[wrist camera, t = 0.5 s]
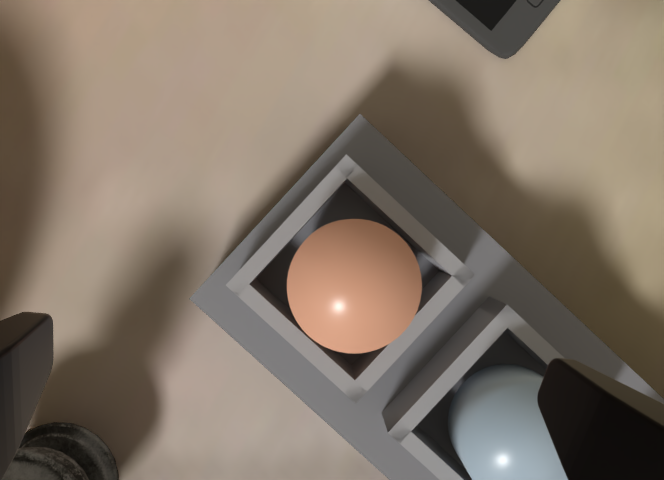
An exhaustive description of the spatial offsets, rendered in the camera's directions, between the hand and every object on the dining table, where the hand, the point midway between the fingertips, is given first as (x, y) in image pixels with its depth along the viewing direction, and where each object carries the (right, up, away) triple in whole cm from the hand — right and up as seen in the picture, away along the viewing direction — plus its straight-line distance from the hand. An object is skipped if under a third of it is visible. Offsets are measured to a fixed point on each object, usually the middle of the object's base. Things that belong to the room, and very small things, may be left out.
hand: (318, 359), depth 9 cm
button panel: (+7, -5, +15) cm, 17 cm away
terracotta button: (+1, +1, +10) cm, 10 cm away
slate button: (+7, -5, +10) cm, 13 cm away
